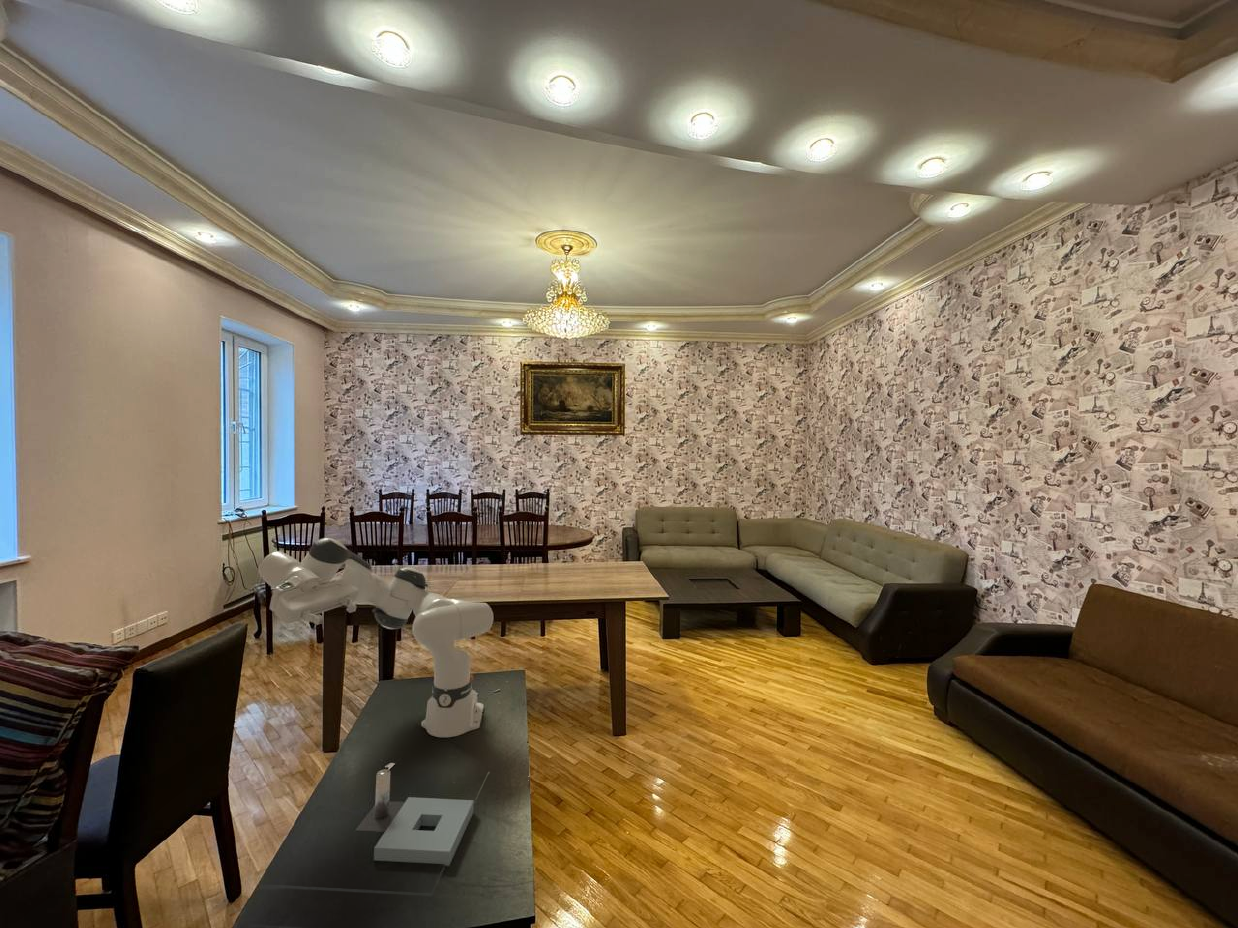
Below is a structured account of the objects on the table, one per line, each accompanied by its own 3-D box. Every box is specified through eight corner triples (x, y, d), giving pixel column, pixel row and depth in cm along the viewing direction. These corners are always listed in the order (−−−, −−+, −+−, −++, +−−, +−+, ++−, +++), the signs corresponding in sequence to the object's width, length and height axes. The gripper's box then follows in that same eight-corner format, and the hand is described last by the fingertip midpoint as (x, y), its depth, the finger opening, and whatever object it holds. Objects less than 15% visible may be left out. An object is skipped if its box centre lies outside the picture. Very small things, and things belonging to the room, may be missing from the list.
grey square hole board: (408, 809, 119) (408, 796, 119) (473, 812, 119) (473, 800, 119) (373, 861, 103) (374, 847, 103) (448, 865, 103) (449, 851, 103)
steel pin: (378, 810, 118) (380, 768, 118) (390, 811, 118) (392, 769, 118) (372, 819, 115) (374, 776, 115) (384, 820, 115) (386, 777, 115)
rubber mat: (377, 802, 121) (377, 800, 121) (405, 803, 121) (405, 801, 121) (355, 831, 111) (355, 829, 111) (385, 833, 111) (385, 831, 111)
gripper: (336, 588, 143) (368, 612, 138) (262, 610, 124) (296, 639, 119) (342, 569, 142) (374, 593, 137) (268, 589, 123) (302, 618, 118)
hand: (337, 615), depth 128 cm, fingers open, 8 cm apart
